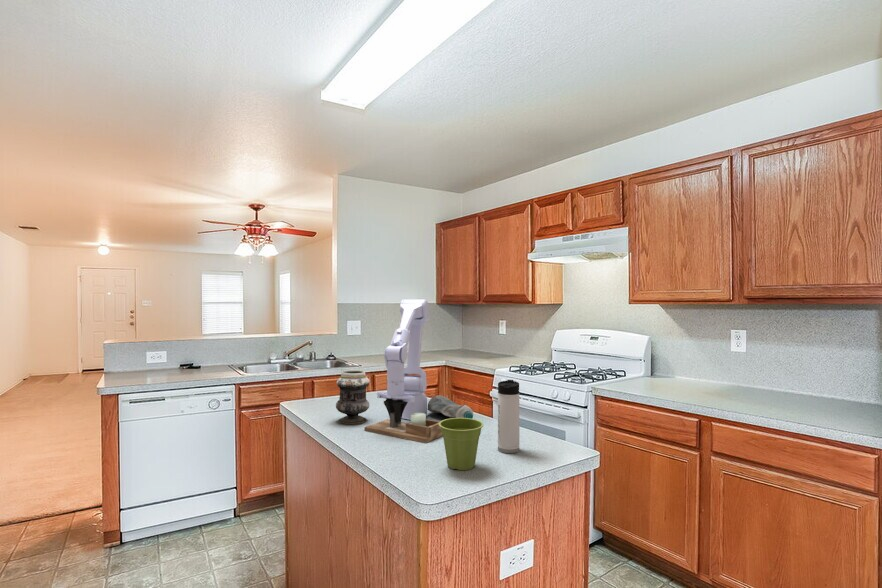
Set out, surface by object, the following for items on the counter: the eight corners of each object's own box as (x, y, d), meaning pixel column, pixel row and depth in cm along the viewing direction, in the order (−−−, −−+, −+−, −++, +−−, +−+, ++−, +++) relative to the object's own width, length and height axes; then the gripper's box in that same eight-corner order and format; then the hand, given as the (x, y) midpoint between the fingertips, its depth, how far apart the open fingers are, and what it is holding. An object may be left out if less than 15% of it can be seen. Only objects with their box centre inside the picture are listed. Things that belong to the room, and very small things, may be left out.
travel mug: (521, 447, 138) (521, 380, 138) (517, 454, 132) (517, 383, 132) (500, 445, 140) (500, 379, 140) (495, 452, 134) (495, 382, 134)
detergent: (422, 413, 180) (451, 427, 157) (423, 394, 180) (452, 406, 158) (452, 412, 186) (484, 426, 163) (453, 394, 186) (485, 405, 164)
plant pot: (429, 466, 123) (429, 423, 123) (460, 455, 131) (460, 415, 131) (462, 478, 114) (462, 432, 114) (492, 466, 123) (492, 423, 123)
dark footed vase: (366, 425, 162) (366, 373, 162) (332, 425, 162) (332, 373, 162) (372, 416, 174) (372, 368, 174) (339, 416, 174) (340, 368, 175)
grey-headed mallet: (398, 423, 159) (398, 409, 159) (428, 429, 152) (428, 414, 152) (389, 427, 155) (389, 412, 155) (419, 433, 148) (419, 417, 148)
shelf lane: (387, 422, 166) (387, 410, 166) (446, 433, 152) (446, 420, 152) (364, 430, 156) (364, 418, 156) (425, 443, 142) (425, 429, 142)
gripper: (371, 380, 157) (371, 421, 157) (405, 385, 149) (405, 427, 149) (384, 377, 163) (384, 416, 163) (418, 381, 155) (418, 422, 155)
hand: (395, 421), depth 156 cm, fingers closed on grey-headed mallet, 2 cm apart
